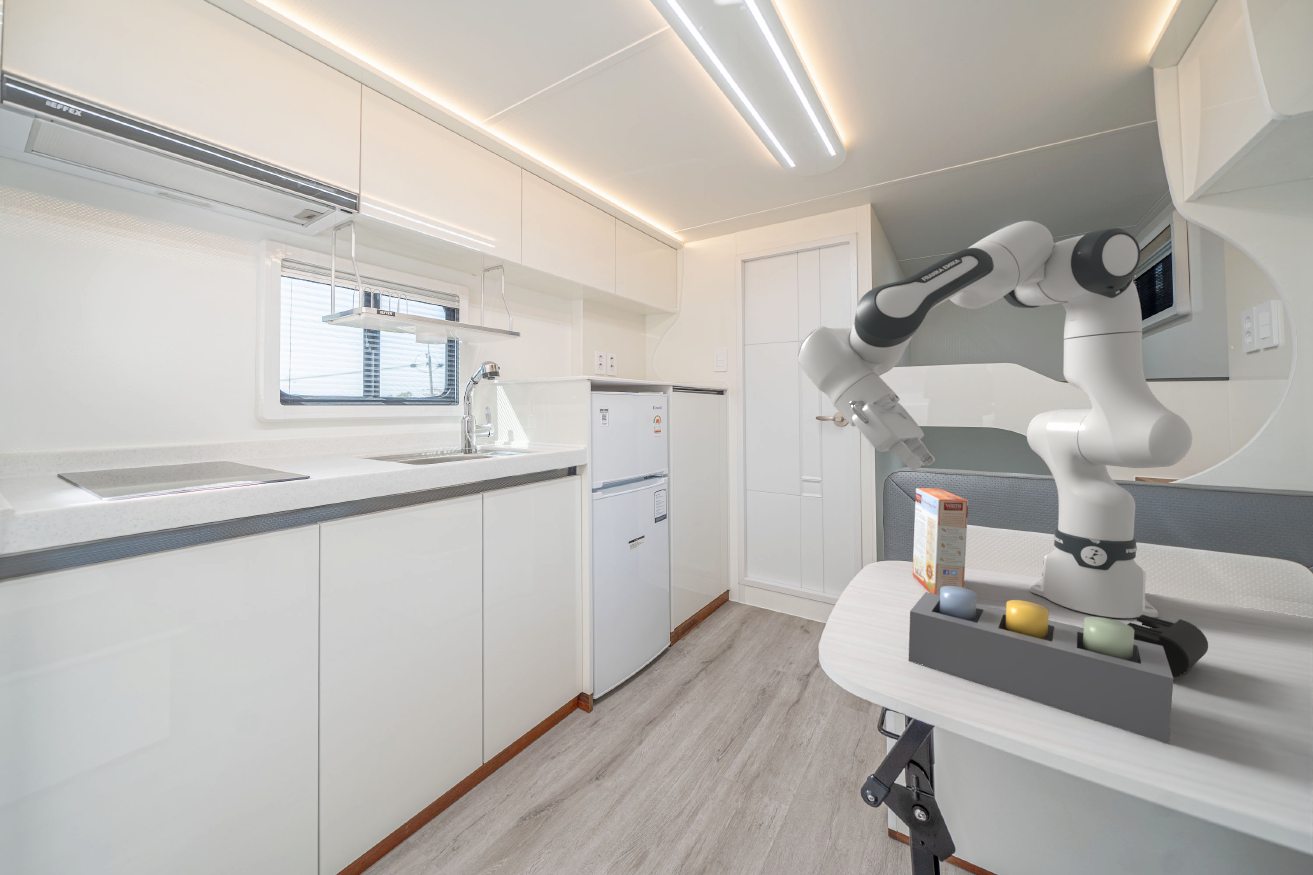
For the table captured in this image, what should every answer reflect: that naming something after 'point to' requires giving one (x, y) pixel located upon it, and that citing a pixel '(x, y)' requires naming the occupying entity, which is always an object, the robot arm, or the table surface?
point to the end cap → (1173, 641)
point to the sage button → (1108, 637)
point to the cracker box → (939, 539)
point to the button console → (1047, 667)
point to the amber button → (1027, 618)
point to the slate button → (958, 602)
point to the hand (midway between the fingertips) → (925, 465)
